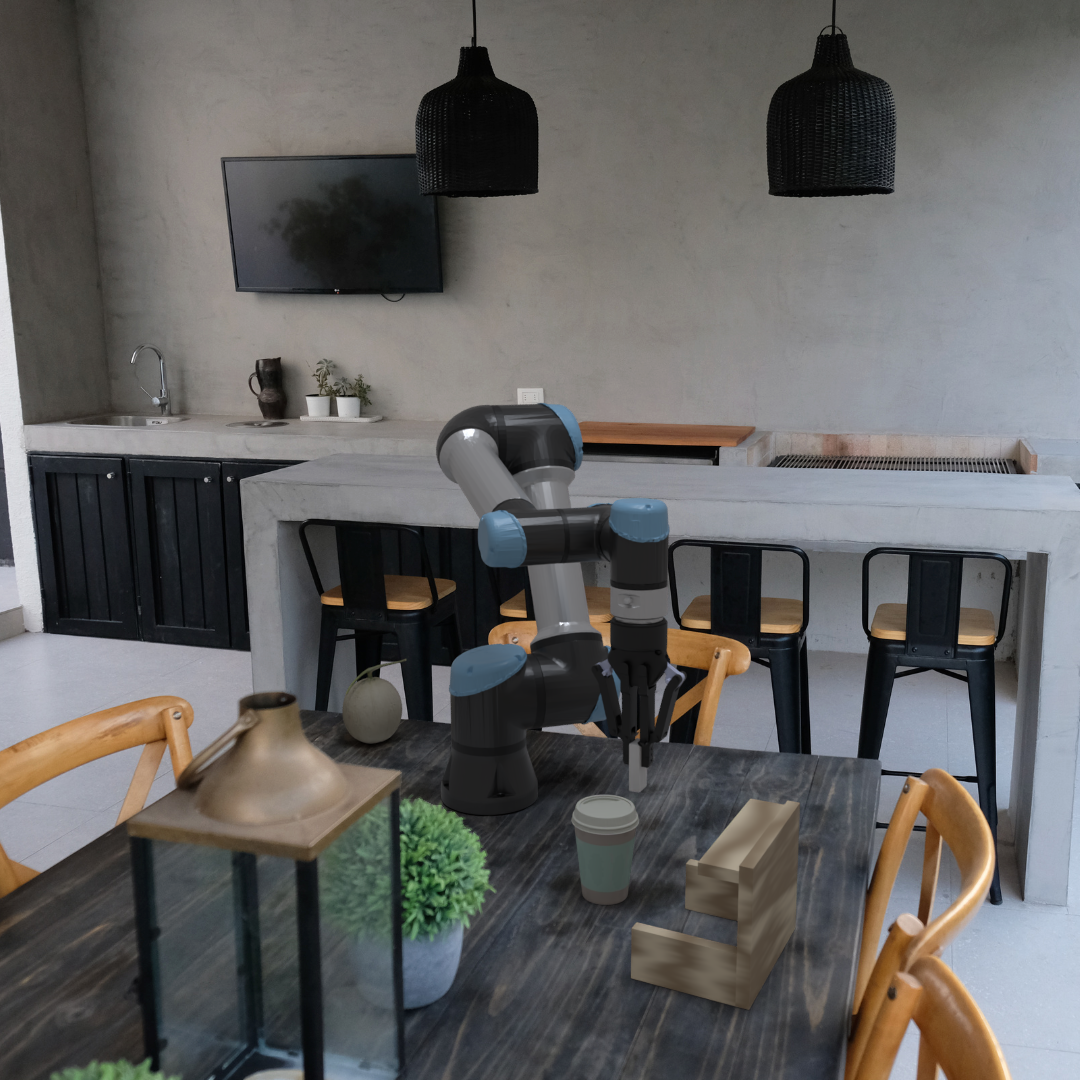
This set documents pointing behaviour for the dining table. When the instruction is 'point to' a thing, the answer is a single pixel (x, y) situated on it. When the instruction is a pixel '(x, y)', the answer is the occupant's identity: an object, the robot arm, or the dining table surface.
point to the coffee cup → (605, 846)
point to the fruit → (372, 707)
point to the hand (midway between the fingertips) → (637, 788)
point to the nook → (731, 910)
